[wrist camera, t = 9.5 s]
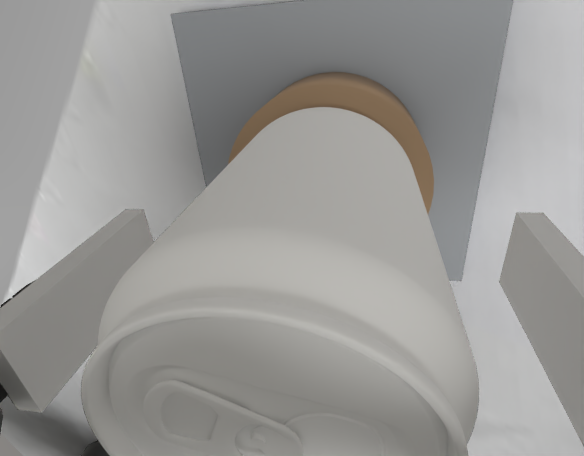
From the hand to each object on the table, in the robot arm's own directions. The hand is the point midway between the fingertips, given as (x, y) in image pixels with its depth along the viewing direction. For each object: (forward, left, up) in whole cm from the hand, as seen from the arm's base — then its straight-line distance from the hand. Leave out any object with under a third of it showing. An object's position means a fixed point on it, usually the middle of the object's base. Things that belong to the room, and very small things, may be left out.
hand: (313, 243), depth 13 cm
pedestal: (0, 0, -10) cm, 10 cm away
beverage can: (0, 0, -5) cm, 5 cm away
